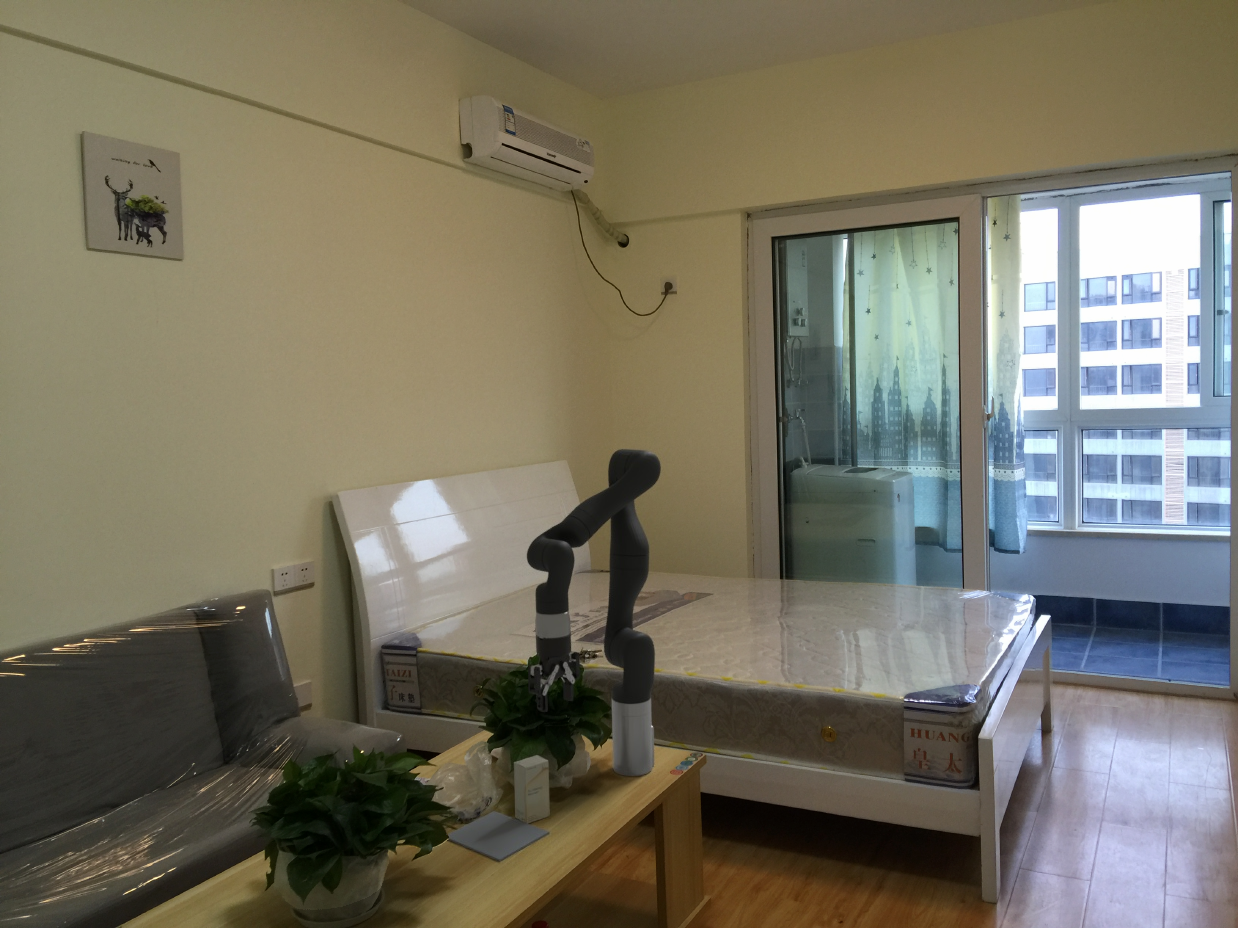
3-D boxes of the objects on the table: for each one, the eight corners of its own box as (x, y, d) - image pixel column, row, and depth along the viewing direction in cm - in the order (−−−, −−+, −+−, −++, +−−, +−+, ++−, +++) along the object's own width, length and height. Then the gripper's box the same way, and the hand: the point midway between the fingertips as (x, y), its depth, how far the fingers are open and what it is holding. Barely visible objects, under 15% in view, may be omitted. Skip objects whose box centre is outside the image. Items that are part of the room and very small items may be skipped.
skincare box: (526, 824, 199) (524, 768, 198) (514, 817, 202) (512, 761, 201) (551, 815, 203) (549, 759, 202) (538, 808, 206) (537, 753, 205)
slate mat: (494, 812, 205) (494, 810, 205) (549, 833, 195) (549, 831, 195) (444, 837, 194) (443, 835, 194) (499, 861, 184) (499, 859, 184)
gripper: (562, 621, 213) (564, 693, 215) (517, 636, 202) (520, 711, 204) (588, 626, 209) (590, 699, 210) (543, 642, 198) (546, 719, 199)
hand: (555, 705), depth 207 cm, fingers open, 7 cm apart
